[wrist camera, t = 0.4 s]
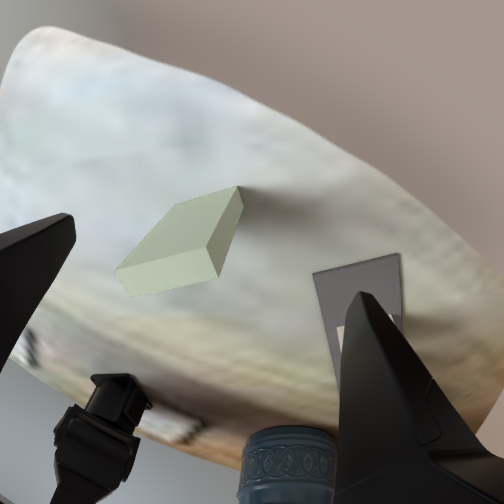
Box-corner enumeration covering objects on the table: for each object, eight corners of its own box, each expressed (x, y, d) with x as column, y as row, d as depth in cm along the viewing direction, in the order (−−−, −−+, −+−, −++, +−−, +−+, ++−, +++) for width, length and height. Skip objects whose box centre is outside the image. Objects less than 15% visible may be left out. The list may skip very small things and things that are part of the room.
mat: (346, 430, 35) (346, 432, 35) (312, 273, 25) (312, 276, 25) (398, 418, 33) (399, 420, 33) (396, 253, 24) (397, 255, 23)
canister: (277, 412, 34) (266, 552, 18) (356, 437, 36) (366, 553, 20) (227, 449, 39) (208, 556, 24) (299, 470, 41) (295, 566, 26)
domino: (182, 223, 24) (128, 297, 15) (175, 205, 24) (114, 271, 15) (244, 206, 23) (218, 278, 14) (237, 185, 22) (205, 246, 14)
